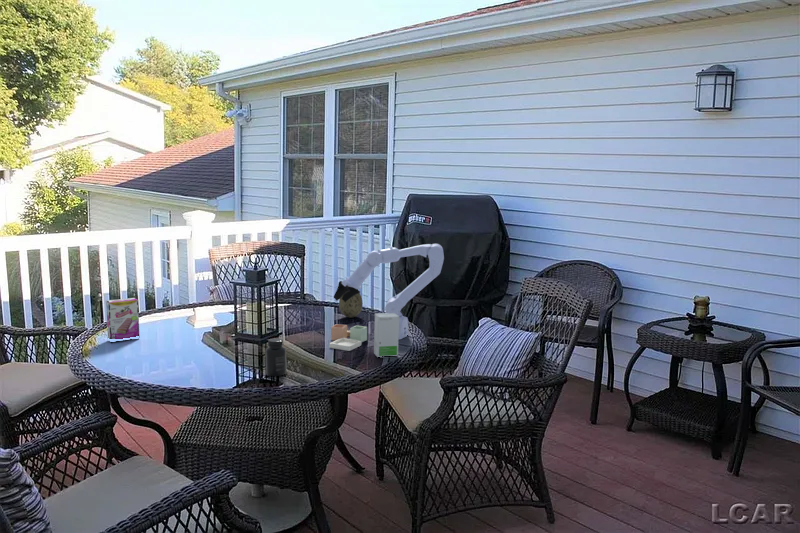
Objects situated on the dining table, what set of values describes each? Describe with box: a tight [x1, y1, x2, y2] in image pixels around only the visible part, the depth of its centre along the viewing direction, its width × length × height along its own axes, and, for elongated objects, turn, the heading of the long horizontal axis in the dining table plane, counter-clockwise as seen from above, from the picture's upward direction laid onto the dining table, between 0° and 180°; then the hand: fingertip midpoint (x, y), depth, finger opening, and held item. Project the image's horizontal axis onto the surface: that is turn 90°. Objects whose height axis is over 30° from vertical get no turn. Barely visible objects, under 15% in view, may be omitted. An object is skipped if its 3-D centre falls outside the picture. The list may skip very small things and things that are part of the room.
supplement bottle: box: [265, 337, 287, 377], centre depth 221 cm, size 7×7×12 cm
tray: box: [329, 338, 362, 352], centre depth 256 cm, size 9×9×2 cm
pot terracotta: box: [330, 323, 348, 341], centre depth 266 cm, size 5×5×6 cm
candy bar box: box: [105, 297, 140, 339], centre depth 259 cm, size 11×5×16 cm, turn 126°
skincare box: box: [373, 312, 400, 358], centre depth 244 cm, size 8×7×16 cm
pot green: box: [349, 325, 368, 344], centre depth 264 cm, size 5×5×6 cm
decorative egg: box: [338, 292, 364, 319], centre depth 302 cm, size 11×11×15 cm
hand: (339, 299), depth 271 cm, fingers open, 7 cm apart
